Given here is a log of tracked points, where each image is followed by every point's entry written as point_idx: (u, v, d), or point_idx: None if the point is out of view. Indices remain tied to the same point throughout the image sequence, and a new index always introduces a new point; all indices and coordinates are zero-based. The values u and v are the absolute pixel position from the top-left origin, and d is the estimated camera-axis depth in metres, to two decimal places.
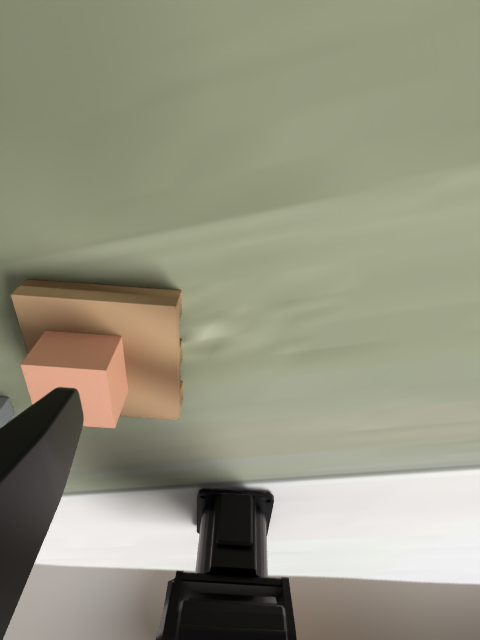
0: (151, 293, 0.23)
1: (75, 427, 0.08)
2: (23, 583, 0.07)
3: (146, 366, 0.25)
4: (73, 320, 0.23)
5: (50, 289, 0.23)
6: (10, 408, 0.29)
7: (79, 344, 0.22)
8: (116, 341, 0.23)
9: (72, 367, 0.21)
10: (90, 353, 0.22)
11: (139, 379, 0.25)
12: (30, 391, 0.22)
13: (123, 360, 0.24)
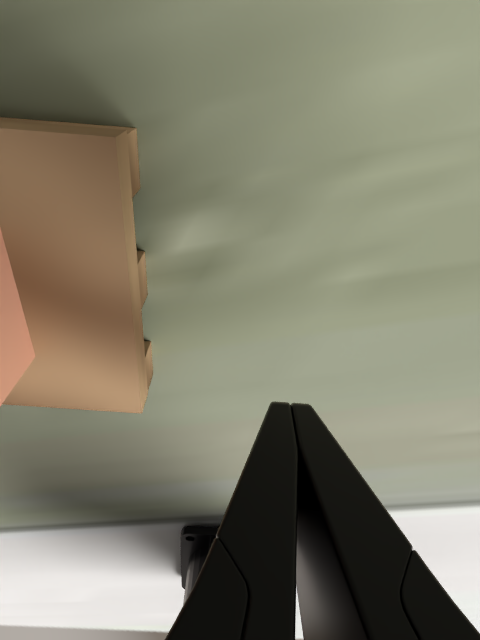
0: (66, 127, 0.10)
1: None
2: None
3: (65, 300, 0.12)
4: None
5: None
6: None
7: None
8: None
9: None
10: None
11: (54, 328, 0.12)
12: None
13: (11, 283, 0.11)
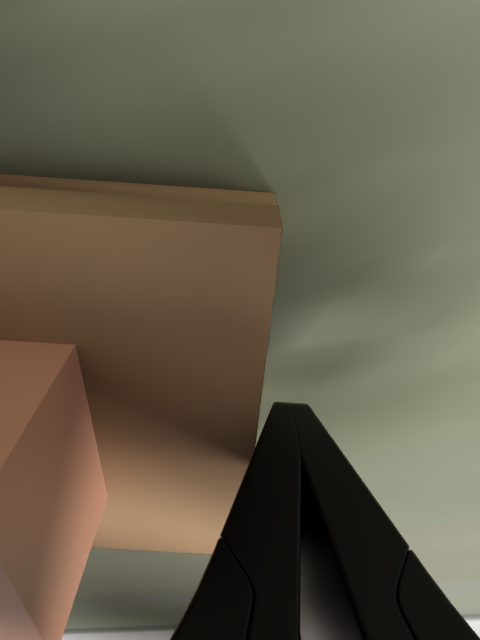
0: (180, 198, 0.07)
1: None
2: None
3: (161, 436, 0.08)
4: None
5: None
6: None
7: None
8: (53, 363, 0.06)
9: None
10: None
11: (139, 468, 0.09)
12: None
13: (86, 420, 0.08)
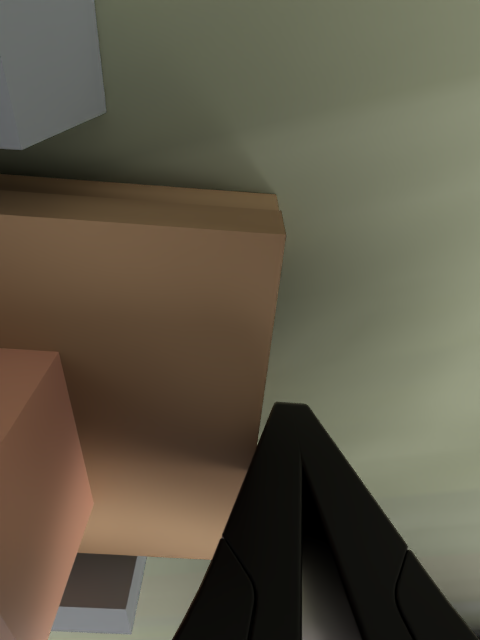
0: (181, 203, 0.07)
1: None
2: None
3: (161, 442, 0.08)
4: None
5: None
6: None
7: None
8: (35, 371, 0.06)
9: None
10: None
11: (138, 474, 0.09)
12: None
13: (70, 428, 0.07)
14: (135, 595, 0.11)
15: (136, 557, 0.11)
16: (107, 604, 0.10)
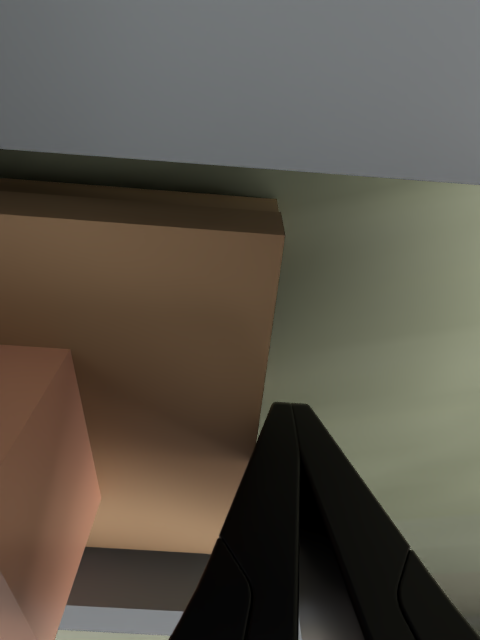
0: (184, 204, 0.07)
1: None
2: None
3: (163, 437, 0.08)
4: None
5: None
6: None
7: None
8: (48, 367, 0.07)
9: None
10: None
11: (141, 469, 0.09)
12: None
13: (80, 423, 0.08)
14: None
15: None
16: None
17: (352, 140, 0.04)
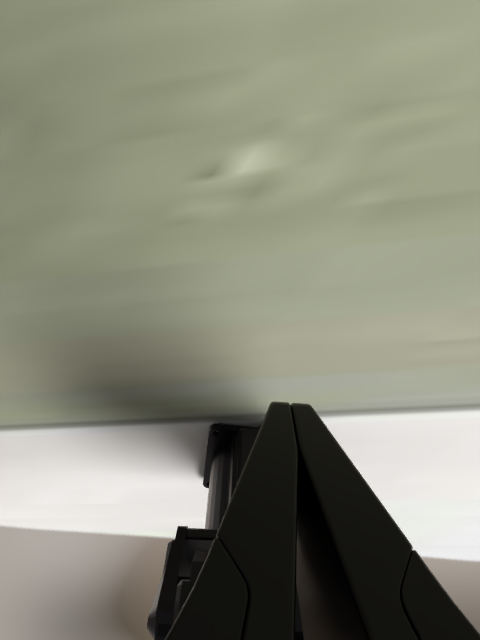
0: None
1: None
2: None
3: None
4: None
5: None
6: None
7: None
8: None
9: None
10: None
11: None
12: None
13: None
14: None
15: None
16: None
17: None
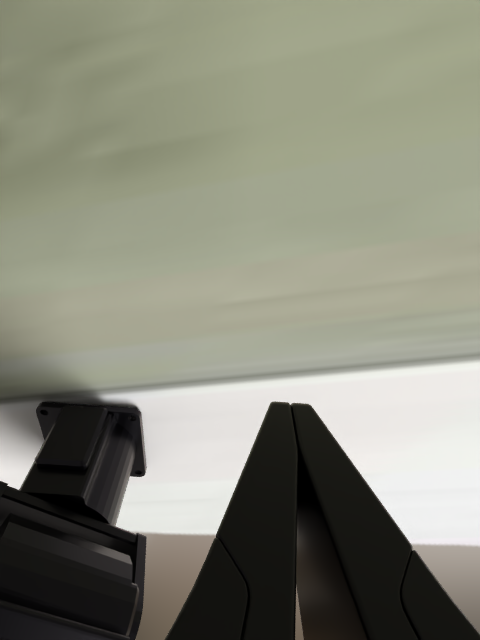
0: None
1: None
2: None
3: None
4: None
5: None
6: None
7: None
8: None
9: None
10: None
11: None
12: None
13: None
14: None
15: None
16: None
17: None
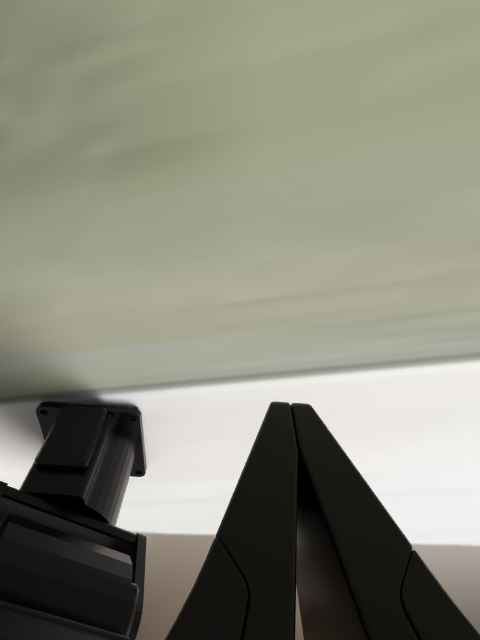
0: None
1: None
2: None
3: None
4: None
5: None
6: None
7: None
8: None
9: None
10: None
11: None
12: None
13: None
14: None
15: None
16: None
17: None
